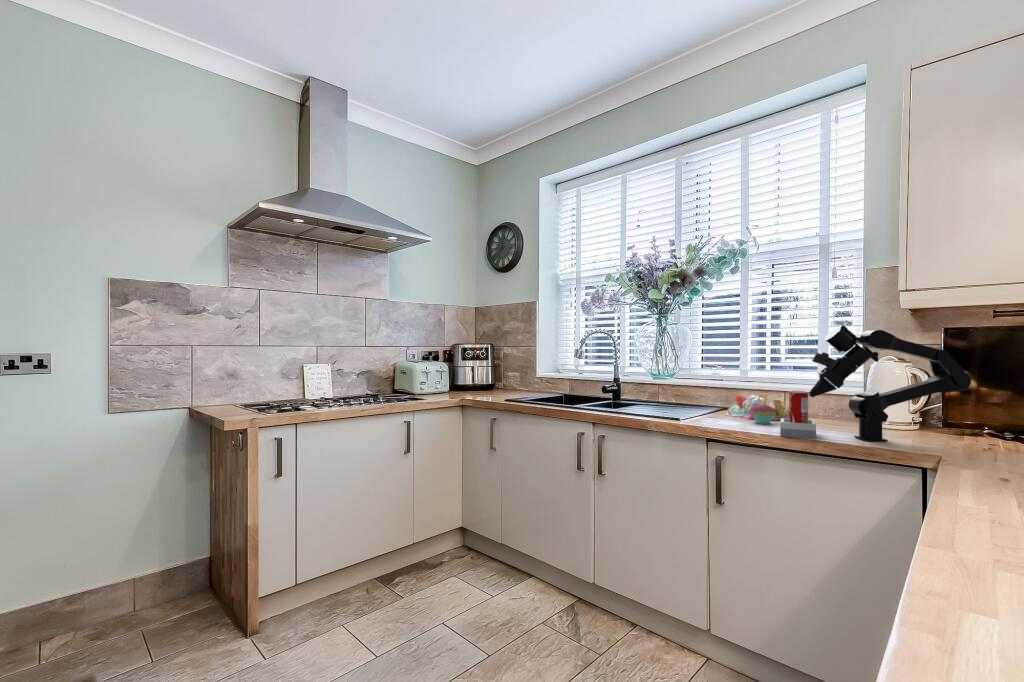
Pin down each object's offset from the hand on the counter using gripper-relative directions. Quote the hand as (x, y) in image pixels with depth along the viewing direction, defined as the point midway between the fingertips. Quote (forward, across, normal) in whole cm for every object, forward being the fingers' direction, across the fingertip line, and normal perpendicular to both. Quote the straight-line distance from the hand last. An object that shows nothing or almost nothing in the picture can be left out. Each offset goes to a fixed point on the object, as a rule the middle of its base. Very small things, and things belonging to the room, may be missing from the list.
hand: (810, 394), depth 163 cm
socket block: (+12, 0, +7) cm, 14 cm away
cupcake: (+21, -22, -2) cm, 30 cm away
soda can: (+10, 0, +5) cm, 11 cm away
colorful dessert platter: (+23, -40, -4) cm, 47 cm away
